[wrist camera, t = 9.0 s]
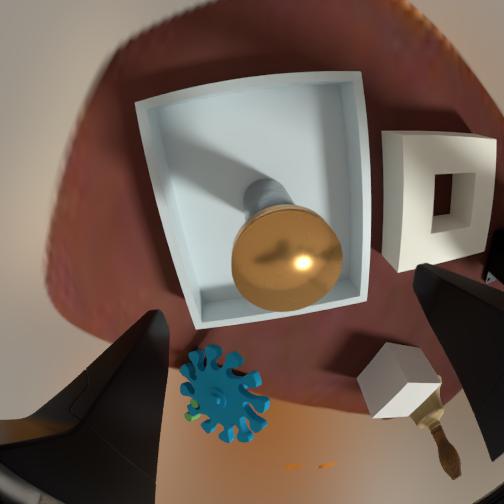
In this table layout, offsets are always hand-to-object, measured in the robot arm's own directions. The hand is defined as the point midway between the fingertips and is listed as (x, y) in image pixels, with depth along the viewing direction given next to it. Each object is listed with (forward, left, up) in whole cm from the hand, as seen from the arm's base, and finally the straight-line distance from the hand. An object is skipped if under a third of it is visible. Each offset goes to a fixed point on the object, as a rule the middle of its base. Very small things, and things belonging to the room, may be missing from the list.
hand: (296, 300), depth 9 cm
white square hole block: (-14, +1, -12) cm, 18 cm away
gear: (+7, +16, -12) cm, 21 cm away
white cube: (-12, +21, -12) cm, 27 cm away
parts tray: (0, 0, -12) cm, 12 cm away
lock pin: (0, 0, -11) cm, 11 cm away
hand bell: (-19, +31, -12) cm, 38 cm away
